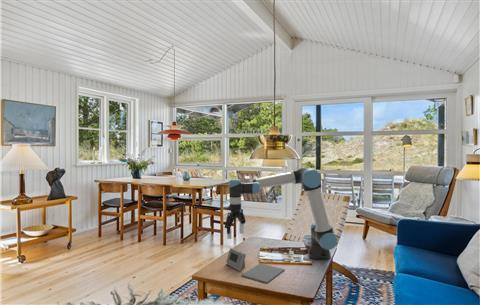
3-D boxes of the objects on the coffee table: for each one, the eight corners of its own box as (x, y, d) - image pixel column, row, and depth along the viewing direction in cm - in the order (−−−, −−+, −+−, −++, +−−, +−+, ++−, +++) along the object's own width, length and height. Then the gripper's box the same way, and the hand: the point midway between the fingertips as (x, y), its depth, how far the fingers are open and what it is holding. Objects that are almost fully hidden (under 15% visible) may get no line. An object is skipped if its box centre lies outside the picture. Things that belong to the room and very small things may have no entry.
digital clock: (225, 263, 217) (225, 248, 216) (237, 261, 220) (237, 246, 220) (235, 272, 202) (234, 255, 201) (248, 270, 206) (247, 253, 205)
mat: (260, 264, 215) (260, 263, 215) (284, 270, 204) (284, 269, 204) (241, 276, 196) (241, 274, 196) (267, 283, 186) (267, 282, 186)
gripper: (241, 199, 222) (241, 230, 222) (218, 206, 201) (219, 239, 202) (250, 200, 217) (250, 232, 218) (228, 207, 197) (228, 241, 198)
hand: (235, 235), depth 210 cm, fingers open, 13 cm apart
